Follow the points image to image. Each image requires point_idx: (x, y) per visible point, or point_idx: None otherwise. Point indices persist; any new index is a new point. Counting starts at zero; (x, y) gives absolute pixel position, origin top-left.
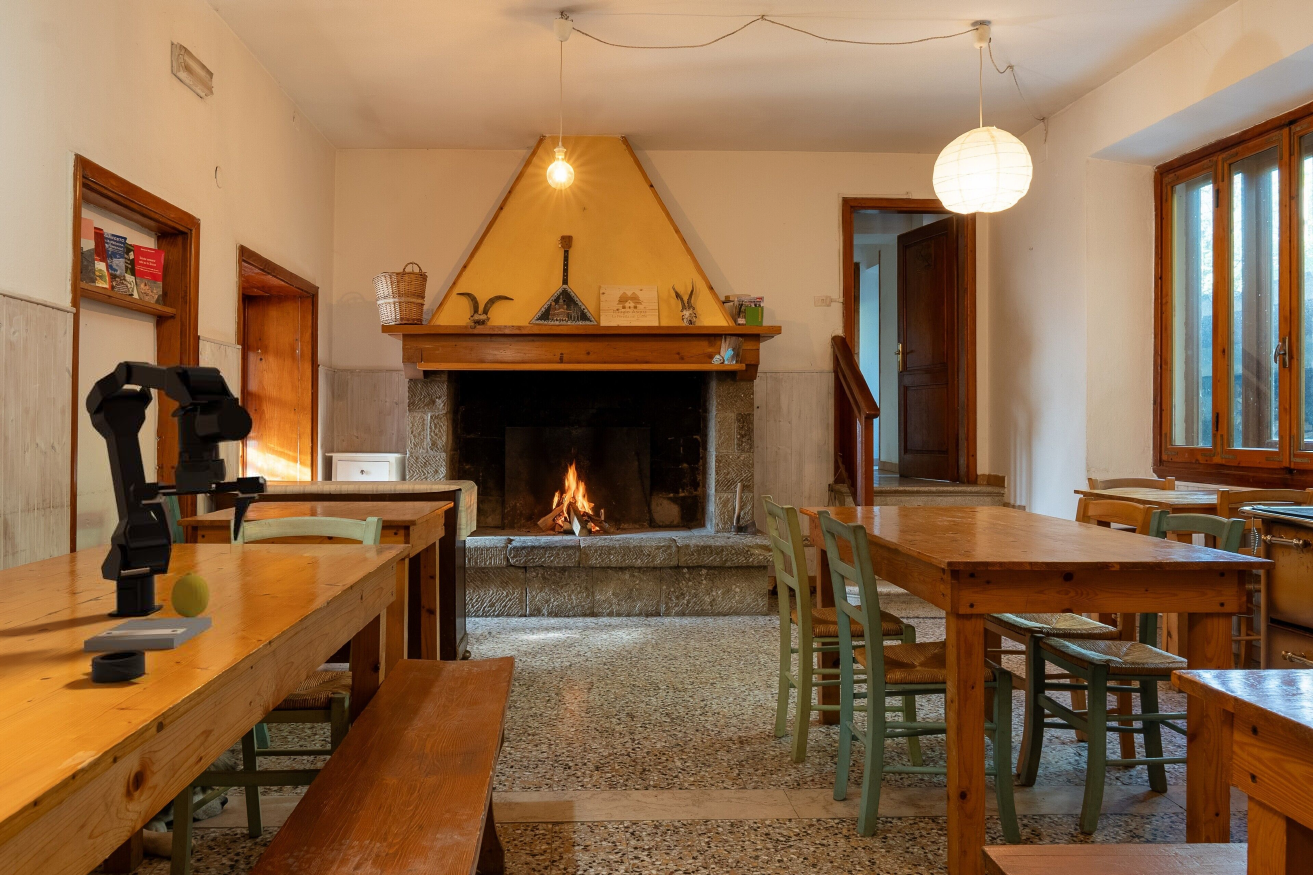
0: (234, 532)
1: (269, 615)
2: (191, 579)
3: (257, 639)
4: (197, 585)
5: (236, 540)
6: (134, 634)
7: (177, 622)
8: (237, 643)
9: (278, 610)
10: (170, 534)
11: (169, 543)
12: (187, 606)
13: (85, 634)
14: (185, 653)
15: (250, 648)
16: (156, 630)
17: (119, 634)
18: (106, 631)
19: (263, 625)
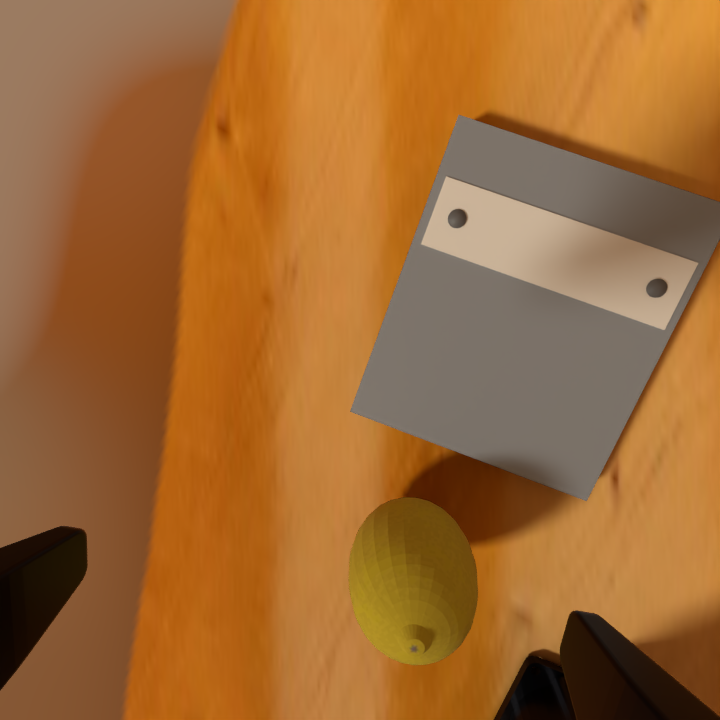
0: (6, 567)
1: (203, 475)
2: (409, 584)
3: (230, 144)
4: (386, 553)
5: (66, 526)
6: (578, 227)
7: (448, 372)
8: (282, 114)
9: (181, 533)
10: (643, 707)
11: (599, 621)
12: (420, 500)
13: (699, 477)
14: (422, 40)
15: (246, 21)
16: (511, 260)
17: (625, 250)
18: (664, 326)
19: (216, 340)
